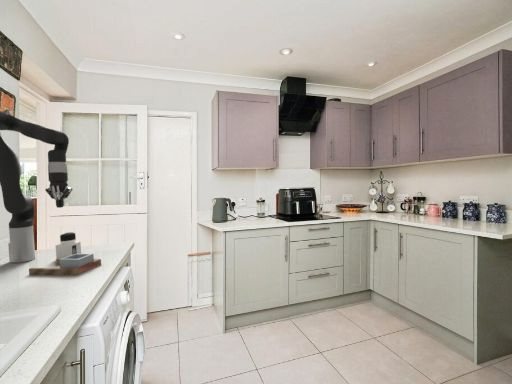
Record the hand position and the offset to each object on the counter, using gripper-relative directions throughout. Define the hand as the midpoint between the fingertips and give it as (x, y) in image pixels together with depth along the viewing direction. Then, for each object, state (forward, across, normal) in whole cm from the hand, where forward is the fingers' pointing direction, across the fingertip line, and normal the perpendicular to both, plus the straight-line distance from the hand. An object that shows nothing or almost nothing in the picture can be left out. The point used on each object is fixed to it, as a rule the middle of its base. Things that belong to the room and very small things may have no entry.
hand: (60, 207), depth 130 cm
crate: (+27, +16, -10) cm, 33 cm away
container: (+27, -3, +7) cm, 28 cm away
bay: (+27, +11, -10) cm, 31 cm away
